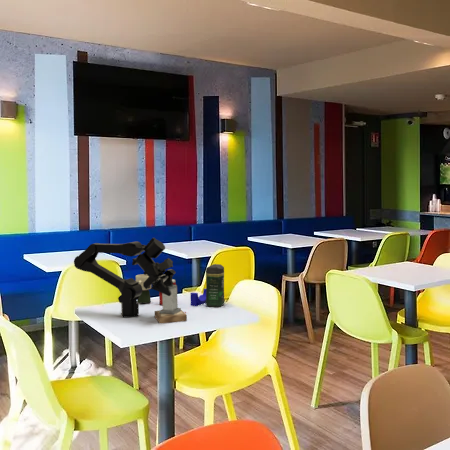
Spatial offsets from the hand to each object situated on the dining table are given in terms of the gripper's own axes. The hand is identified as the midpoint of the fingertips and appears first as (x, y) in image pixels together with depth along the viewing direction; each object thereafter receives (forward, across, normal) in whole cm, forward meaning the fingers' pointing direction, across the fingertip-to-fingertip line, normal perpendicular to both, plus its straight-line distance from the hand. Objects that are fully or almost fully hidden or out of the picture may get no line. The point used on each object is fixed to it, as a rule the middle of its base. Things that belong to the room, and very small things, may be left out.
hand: (172, 294), depth 221 cm
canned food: (-3, +25, +18) cm, 31 cm away
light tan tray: (+6, 0, +8) cm, 11 cm away
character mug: (-11, +23, +27) cm, 37 cm away
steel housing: (+4, 0, +6) cm, 8 cm away
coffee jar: (+12, +30, +3) cm, 32 cm away
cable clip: (+6, +31, +9) cm, 33 cm away
